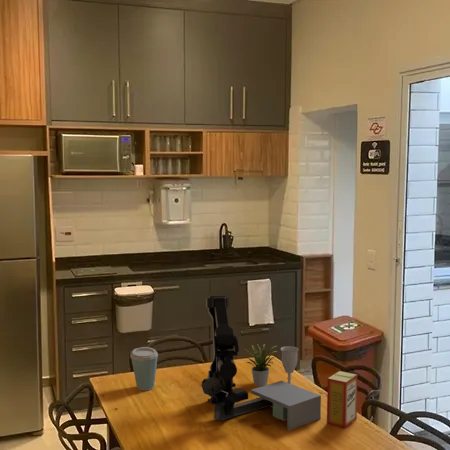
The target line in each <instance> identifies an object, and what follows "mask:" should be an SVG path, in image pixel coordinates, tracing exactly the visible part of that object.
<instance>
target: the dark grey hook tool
mask: <svg viewBox="0 0 450 450" xmlns="http://www.w3.org/2000/svg"><path fill="white" fill-rule="evenodd" d="M267 407H270V408H273V402H270V401H268V400H266V399H263V398H261V397H259V396H258V397H256V398H253V399H247V400H244V401H240V402H237V403H235V404H234V406H233V408H232V410H231V412H230V414H229V415H226V411H225V401H223V402H219V403H216V404H214V415H213V416H214V419H216V420H218V421H219V422H221V421H224V420H229V419H231V418H233V417H236V416H240V415H243V414H247V413H250V412H253V411H256V410H259V409H263V408H267Z"/></svg>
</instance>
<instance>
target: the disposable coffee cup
mask: <svg viewBox="0 0 450 450" xmlns="http://www.w3.org/2000/svg"><path fill="white" fill-rule="evenodd" d="M158 357H159V352H157V350H156V349H155V348H152V347H150V346H149V347H148V346H142V347H137V348H134V349H133V350H132V351H131V353H130V359H131V362H132V363H131V364H132V368H133V369H132V370H133V373H134V374H133V375H134V380H135V384H136V389H137V390H139V391H142V392H143V391H144V392H145V391H150V390H153V388H154V387H155V383H156V382H155V381H156V375H157V373H156V372H157V365H158Z"/></svg>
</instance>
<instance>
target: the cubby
mask: <svg viewBox="0 0 450 450" xmlns="http://www.w3.org/2000/svg"><path fill="white" fill-rule="evenodd" d="M287 382H288V381H287ZM287 382H286V381H284V380H278V381H276V382H272V383H270V384H267V385H265V386H258V387H256V388H252V389H250V394H252V395H254V396H256V397H258V398H259V397H261V398H263V399H266V400H268V401H270V402H273V403H275V404H277V405H280V406H282V407H285V408H287V409H288V411H287V419H286V421H287V422H286V424H287V425H286V427H287V428H286V429H287V431H292V430H294V429H297V428H300V427H302V426H305V425H307V424H311V423H313V422H315V421H318V420H321V413H322V412H321V411H322V410H321V409H322V408H321V407H322V401H321V400H322V397H321V396H322V395H320V394H318V393H315V392H313V391H310V390H308V389H306V388H303V387H299V386H297V385H294V384H292V383H291V384H289V383H287Z"/></svg>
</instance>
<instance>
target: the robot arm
mask: <svg viewBox="0 0 450 450" xmlns="http://www.w3.org/2000/svg"><path fill="white" fill-rule="evenodd" d="M205 308H206V309H207V313H208V315H209V316H210V319H211V320H212V345H213V347H212V348H213V349H212V350H213V359H212V361H211V364H210V365H209V370H208V371H207V378H203V380H202V381H201V384H200V385H201V388H202V391H203V394H204V395H208V396H209V397H210V398H207V401H208V402H210V403H212V404H214V405H215V404H216V403H219V402H223V401H225V411H226V415H229V414H230V412H231V410H232V408H233V406H234V404H238V403H241V402H244V401H247V400H249V392H248V391H247V390H246V389H243V388H241V387H238V388H235V387H236V383H235V382H234V377H235V376H236V375H237V373H238V367H237V366H236V363H235V360H234V356H238V353H239V351H240V348H239V340H238V337H237V335H235V332H234V329H233V328H232V327H231V326H230V324H229V317H228V316H229V315H228V308H230V297H226V295H225V294H221V295H220V294H219V295H218V294H216V295H213V294H212V295H211V294H210V295H209V296H208V298H207V297H206V298H205ZM233 388H235V389H233Z"/></svg>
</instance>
